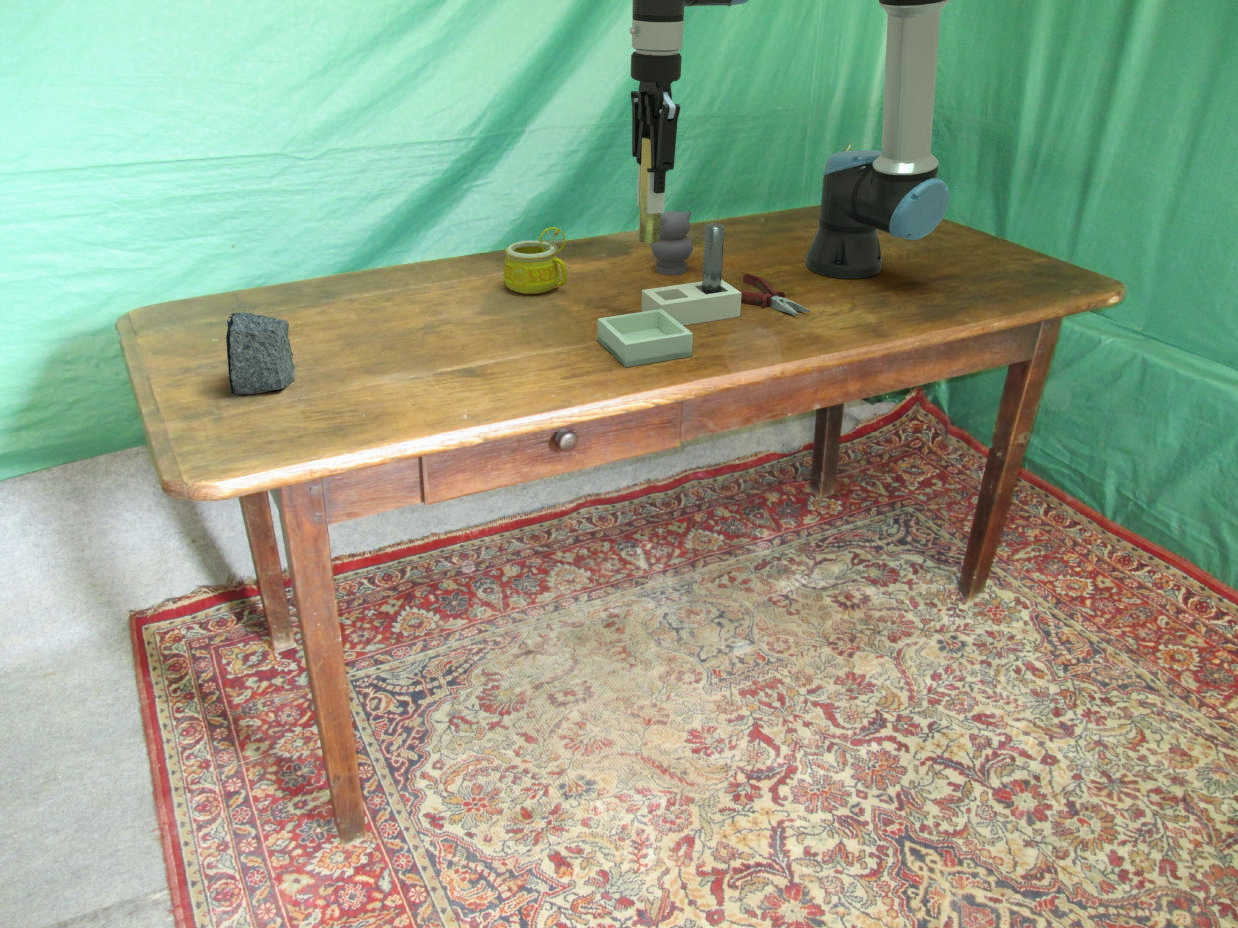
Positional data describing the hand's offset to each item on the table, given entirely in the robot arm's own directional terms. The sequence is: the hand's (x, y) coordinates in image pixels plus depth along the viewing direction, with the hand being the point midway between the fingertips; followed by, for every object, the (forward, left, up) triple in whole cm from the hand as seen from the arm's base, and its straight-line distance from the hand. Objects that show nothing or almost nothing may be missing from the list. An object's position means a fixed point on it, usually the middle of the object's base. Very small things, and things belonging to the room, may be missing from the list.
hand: (650, 209), depth 157 cm
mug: (+9, -32, -23) cm, 40 cm away
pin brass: (0, 0, -5) cm, 5 cm away
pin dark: (-16, -8, -23) cm, 29 cm away
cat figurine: (-20, -31, -23) cm, 44 cm away
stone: (+62, -7, -23) cm, 66 cm away
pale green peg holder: (-12, -8, -23) cm, 27 cm away
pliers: (-26, -10, -23) cm, 37 cm away
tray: (+2, +3, -23) cm, 23 cm away
